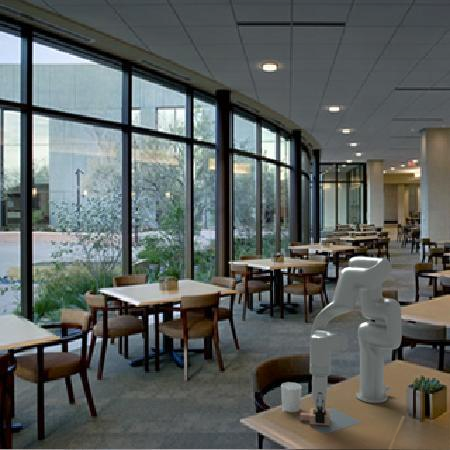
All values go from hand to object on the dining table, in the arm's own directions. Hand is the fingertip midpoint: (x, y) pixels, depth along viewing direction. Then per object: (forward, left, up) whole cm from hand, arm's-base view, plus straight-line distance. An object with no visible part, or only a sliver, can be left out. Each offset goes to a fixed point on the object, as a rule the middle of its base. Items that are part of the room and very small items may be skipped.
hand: (320, 417), depth 171 cm
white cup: (+1, -15, -3) cm, 15 cm away
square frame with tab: (+1, -1, -1) cm, 2 cm away
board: (-4, 0, -3) cm, 5 cm away
